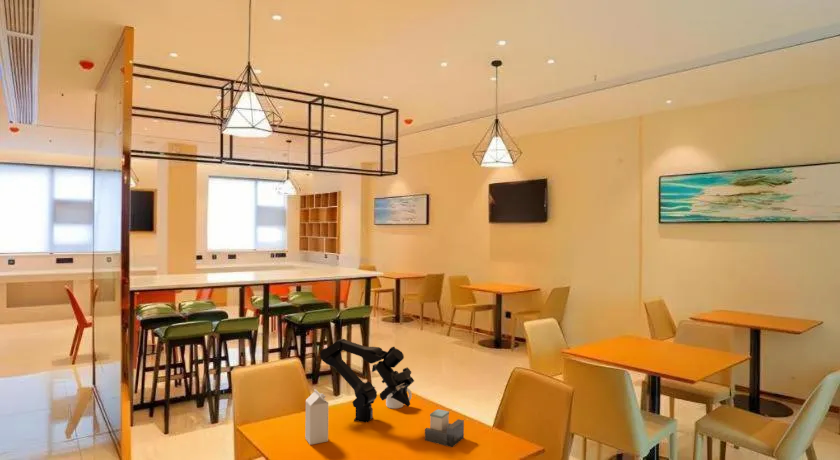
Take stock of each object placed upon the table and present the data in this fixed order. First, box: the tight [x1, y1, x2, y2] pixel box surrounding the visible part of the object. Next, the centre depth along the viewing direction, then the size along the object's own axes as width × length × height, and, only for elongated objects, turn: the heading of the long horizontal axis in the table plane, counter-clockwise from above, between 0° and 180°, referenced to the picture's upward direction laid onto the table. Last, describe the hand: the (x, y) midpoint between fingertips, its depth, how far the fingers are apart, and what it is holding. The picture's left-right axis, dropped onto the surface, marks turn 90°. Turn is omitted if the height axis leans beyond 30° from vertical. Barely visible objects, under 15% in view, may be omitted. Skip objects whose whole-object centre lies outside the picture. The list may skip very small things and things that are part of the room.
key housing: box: [424, 418, 465, 448], centre depth 196 cm, size 12×10×7 cm
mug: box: [385, 384, 413, 410], centre depth 233 cm, size 12×8×10 cm
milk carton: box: [304, 388, 329, 446], centre depth 194 cm, size 7×7×19 cm
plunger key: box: [429, 408, 450, 432], centre depth 197 cm, size 5×6×8 cm
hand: (409, 405), depth 204 cm, fingers closed
